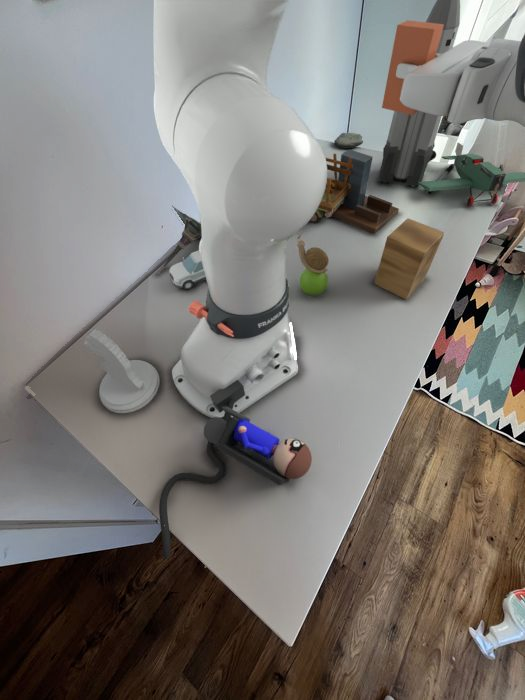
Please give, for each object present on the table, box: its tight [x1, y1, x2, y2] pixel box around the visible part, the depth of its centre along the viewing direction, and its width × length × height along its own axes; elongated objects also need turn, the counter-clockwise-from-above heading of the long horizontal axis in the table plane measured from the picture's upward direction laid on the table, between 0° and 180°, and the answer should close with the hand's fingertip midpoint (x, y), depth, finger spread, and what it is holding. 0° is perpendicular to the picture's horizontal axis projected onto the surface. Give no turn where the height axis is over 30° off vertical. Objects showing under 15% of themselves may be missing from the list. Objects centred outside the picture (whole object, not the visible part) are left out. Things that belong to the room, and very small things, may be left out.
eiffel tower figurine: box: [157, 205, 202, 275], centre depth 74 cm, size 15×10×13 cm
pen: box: [427, 163, 455, 195], centre depth 88 cm, size 1×16×1 cm, turn 142°
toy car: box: [169, 249, 206, 290], centre depth 70 cm, size 6×13×5 cm, turn 119°
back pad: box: [381, 19, 444, 115], centre depth 56 cm, size 3×6×11 cm, turn 47°
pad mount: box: [330, 148, 400, 235], centre depth 77 cm, size 10×14×12 cm
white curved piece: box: [83, 328, 161, 414], centre depth 51 cm, size 10×10×15 cm
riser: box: [373, 217, 445, 300], centre depth 63 cm, size 7×7×11 cm
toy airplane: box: [418, 142, 525, 208], centre depth 82 cm, size 22×25×11 cm
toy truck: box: [309, 153, 353, 224], centre depth 79 cm, size 11×25×15 cm, turn 55°
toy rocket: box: [378, 0, 461, 189], centre depth 75 cm, size 12×9×35 cm
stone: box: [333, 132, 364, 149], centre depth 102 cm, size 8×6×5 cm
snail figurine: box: [296, 233, 330, 296], centre depth 63 cm, size 5×6×12 cm
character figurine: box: [203, 407, 313, 486], centre depth 46 cm, size 8×7×15 cm
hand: (405, 65), depth 56 cm, fingers closed on back pad, 3 cm apart
